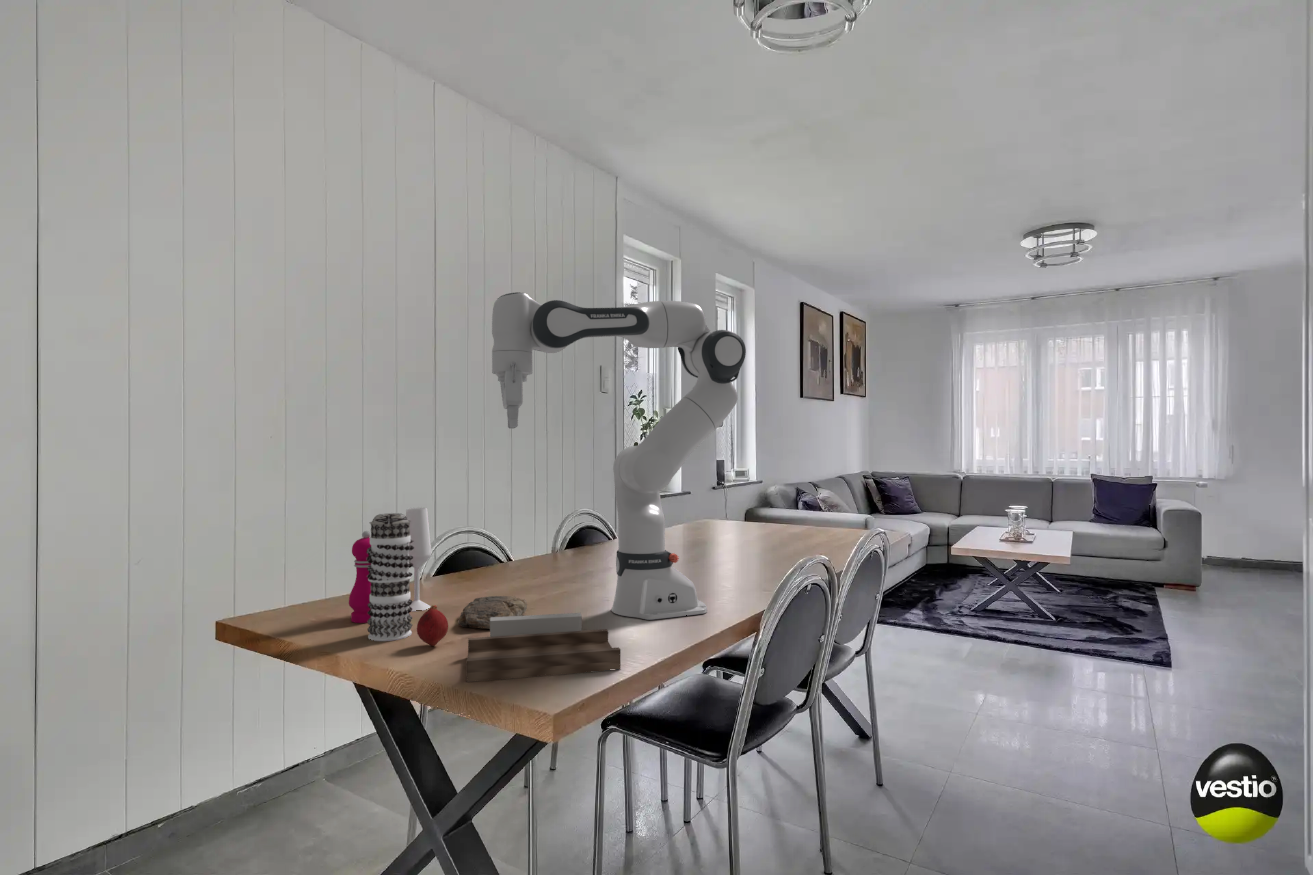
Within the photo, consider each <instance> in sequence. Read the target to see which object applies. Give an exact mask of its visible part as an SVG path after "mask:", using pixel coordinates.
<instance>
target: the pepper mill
mask: <svg viewBox="0 0 1313 875" xmlns="http://www.w3.org/2000/svg"><path fill="white" fill-rule="evenodd" d="M361 535H362V536H361V538H359V539H356V541H355V542H354V543H353V544H352V547H351V554H352V556H353V557H354V558H355V560H354V561H353V562H354V565H353V566H354V567H355V568H356V569H355V571H356V574H355V576H356V577H355V581H354V585H353V586H352V589H351V592H350V593H349V597H348V605H349V607H350V608H351V609H352V610H353V611H352V612H351V614H350V621H351V622H352V623H355V624H368V623H367V621H368V620H369V619H370V617H371V616H369V614H368V611H369V610H370V608H369V607H368V604H369V603H370V594H371V582H370V581H368V578H367V575H369V571H368V570H367V568H368V566H369V565H371V563H369V562H368V561H367V560H366V558H367V557H368V556H369V555H368V553H367V552H366V551H367V549H368V548H370V547H371V545H370V537H371V531H368V530H364V531H363V532H362V534H361Z"/></svg>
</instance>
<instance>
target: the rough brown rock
mask: <svg viewBox="0 0 1313 875" xmlns="http://www.w3.org/2000/svg"><path fill="white" fill-rule="evenodd" d="M527 610H528V602H527V600H526V599H525V598H519V597H516V596H515V595H514V596H513V595H492V596H482V597H477V598H474V599H473V601H470V602H469V603H468V604H467V605H466V606H464V608H463V610H462V612H461V613H460V616H459V618H458V621H457V623H458V625H459V626H460V627H463V628H468V627H469V629H471V628H472V629H489V630H490V618H491V617H507V616H523V614H525V612H526V611H527Z"/></svg>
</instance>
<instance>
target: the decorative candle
mask: <svg viewBox="0 0 1313 875" xmlns="http://www.w3.org/2000/svg"><path fill="white" fill-rule="evenodd" d="M410 522H411V521H409V520H408V519H407V517H406V514H403V513H399V512H398V513H396V512H395V513H393V512H391V513H379V514H377V515H375V516H374V517H373V519H372V520H371V521H370V522H369V524H370V534H371V536H370V537H369V538H370V545H371V547H370V548H368V549H367V551H366V552H367V553H368V555H369V556H368V557H367V558H366V560H367V561H368V562H369V563H371V565H369V566H368V568H367V570H368V571H369V575H367V578H368V581H370V582H371V594H370V603H369V604H368V607H369V608H370V610H369V611H368V614H369V616H371V617H370V619H369V620H368V621H367V623H366V624H368V627H367V631H368V633H369V634H368V636H367V638H368V640H370V639H371V640H370V641H373V640H374V642H392V641H397V640H398V641H399V640H402V639H406V638H408V636H409V637H410V636H411V635H412V634H413V632H412V627H413V624H412V623H411V622H412V621H413V616H412V615H411V614H410V613H411V612H413V611H412V608H411V607H410V606H409V605H411V603H412V601H413V599H412V600H411V590H410V585H411V584H410V583H411V582H410V580H411V579H412V578H413V573H412V572H410V569H411V568H413V567H412V566H413V564H412V563H411V562H409V561H410V560H411V559H413V556H411V555H409V551H410V550H413V549H414V547H413V546H412V545H409V543H412V542H414V541H413V540H411V535H410Z"/></svg>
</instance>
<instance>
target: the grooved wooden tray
mask: <svg viewBox="0 0 1313 875" xmlns="http://www.w3.org/2000/svg"><path fill="white" fill-rule="evenodd" d="M467 641H468V642H467V644H468V651H467V652H468V653H467V658H466V683H472V682H473V683H474V682H484V681H495V680H496V681H497V680H511V679H520V678H521V679H522V678H523V679H524V678H534V677H547V676H560V675H573V674H584V673H585V672H586V673H592V672H591V671H598V672H605V671H604V670H610V669H620V670H621V648H620V647H619V646H618V647H612V645H611V644H610V642H609V630H608V628H603V629H602V628H601V629H600V628H599V629H588V630H587V629H585V630H582V631H569V632H554V633H538V634H523V635H508V636H493V637H490V636H482V637H469V638H468V640H467ZM586 673H585V674H586Z"/></svg>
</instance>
